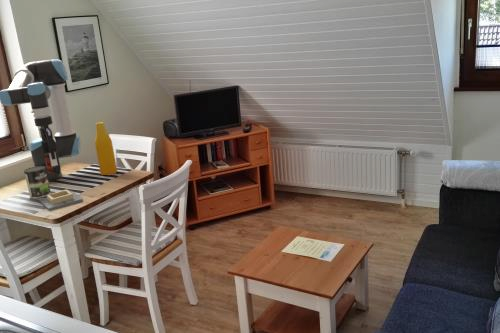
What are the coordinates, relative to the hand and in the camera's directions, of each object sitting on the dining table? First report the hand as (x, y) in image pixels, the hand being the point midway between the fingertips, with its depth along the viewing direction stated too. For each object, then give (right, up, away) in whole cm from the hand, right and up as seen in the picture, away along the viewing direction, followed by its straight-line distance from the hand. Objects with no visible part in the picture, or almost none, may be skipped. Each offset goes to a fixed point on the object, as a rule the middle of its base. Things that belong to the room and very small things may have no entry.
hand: (52, 164), depth 246 cm
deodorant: (0, -3, +1) cm, 4 cm away
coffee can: (-13, -16, +19) cm, 28 cm away
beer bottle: (+15, -5, +45) cm, 47 cm away
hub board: (+2, -18, +5) cm, 19 cm away
